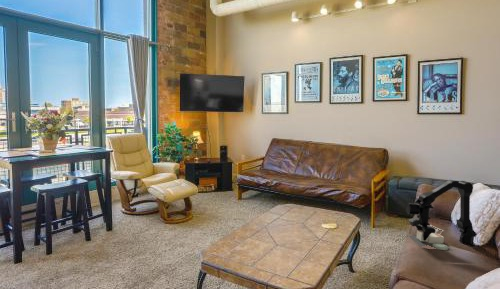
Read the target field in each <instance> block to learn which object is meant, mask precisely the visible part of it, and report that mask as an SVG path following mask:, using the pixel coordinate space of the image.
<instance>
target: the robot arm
mask: <svg viewBox="0 0 500 289" xmlns="http://www.w3.org/2000/svg"><path fill="white" fill-rule="evenodd" d="M453 188H456V189H457V190H458V193H459V195H460V200H459V201H460V205H459V206H460V216H459V219H456V220H455V221H456V224H455V225H456V227H457V229H458V230H459V232H460V235H459V240H458V241H459V242H460V243H461V244H463V245H465V246H466V245H467V246H472V247H473V246H474V247H475V246H476V244H475V243H474V238H475V237H477V235H478V233H477V232H476V231H475V230H474V228H473V223H472V221H471V217H470V215H471V214H470V213H471V212H470V209H471V208H470V207H471V206H470V204H471V200H470V199H471V195H472V193H473V190H474V185H473V184H472V183H471V182H468V181H465V180H460V181H458V180H452V179H448V180H446V181H445V182H444V183H442V184H440V185H439V186H438V187H436V188H434V189H432V190H431V191H427V192H424V193H422V194H419V197H418V198H417V199H416V200H415V202H414V203H413V202H412V203H411V202H408V203H407V205H406V207H405V213H406V214H407V215H416V217H412V218H408V223H409V225H410V226H411V227H415V228H416V231H417V230H421V231H422V232H423V240H424V241H425V240H426V239H427V238H428V236H429V235H430V234H431V233H435V232H436V230H435V229H434V228H433V227H432V226H433V225H432V226H428V225H431V223H429V220H431V216H430V209H434V206H432V204H433V203H434V202H435V201H436V199H437V198H438V197H440V196H442V195H443V194H445V193H446V192H448V191H449V190H452V189H453Z"/></svg>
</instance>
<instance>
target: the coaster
mask: <svg viewBox="0 0 500 289" xmlns="http://www.w3.org/2000/svg"><path fill="white" fill-rule="evenodd" d="M444 244H445V243H443V244H440V243H433V245H432V246H433V247H434V248H436V249H439V250H438V251H449V250H448V249H449V248H450V247H449V246H448V245H446V244H445V245H444Z"/></svg>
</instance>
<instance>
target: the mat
mask: <svg viewBox="0 0 500 289" xmlns="http://www.w3.org/2000/svg"><path fill="white" fill-rule="evenodd" d="M408 237H409V238H410V240H412V241H413V242H414V243H416V244H417V245H418V246H419V247H422V246H425V245H426V246H427V245H429V246H431V247H433V246H432V245H433V243H428V242H426V241H420V240H419V239H418V238H416V237H417V235H408ZM440 244H444V245H446V244H445V243H444V242H443V243H440ZM437 251H440V250H439V249H438V250H437ZM447 251H452V252H453V249H452V248H450V247H449V249H448V250H447Z"/></svg>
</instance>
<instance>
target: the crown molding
mask: <svg viewBox="0 0 500 289" xmlns="http://www.w3.org/2000/svg"><path fill="white" fill-rule="evenodd" d="M430 226H433V227H435V228H437V229H435V228H434V229H435V233H434V234H438V233H439V232H440V233H439V234H440V235H441V234H442V233H443V232H444V231H445V230H444V229H441V228H439V227H436V226H434V225H432V224H430ZM438 229H439V230H442V231H439V230H438Z"/></svg>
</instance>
